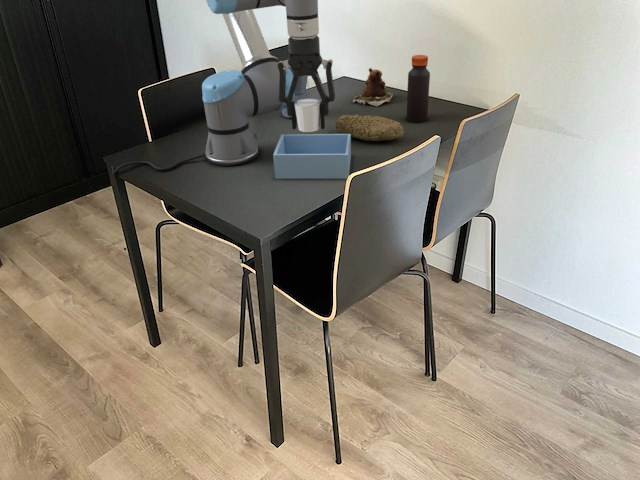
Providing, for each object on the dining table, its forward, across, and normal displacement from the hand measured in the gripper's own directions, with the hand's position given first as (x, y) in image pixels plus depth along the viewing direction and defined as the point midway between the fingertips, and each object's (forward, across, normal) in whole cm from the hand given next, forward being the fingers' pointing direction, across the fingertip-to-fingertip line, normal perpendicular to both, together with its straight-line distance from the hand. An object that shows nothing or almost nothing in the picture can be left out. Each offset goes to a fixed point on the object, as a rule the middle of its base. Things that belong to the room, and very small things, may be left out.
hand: (308, 127), depth 145 cm
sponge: (+12, +15, +23) cm, 30 cm away
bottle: (+12, +30, +39) cm, 51 cm away
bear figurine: (+12, +16, +60) cm, 63 cm away
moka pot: (+12, -11, +44) cm, 46 cm away
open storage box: (+12, +1, +2) cm, 12 cm away
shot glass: (0, 0, 0) cm, 0 cm away
